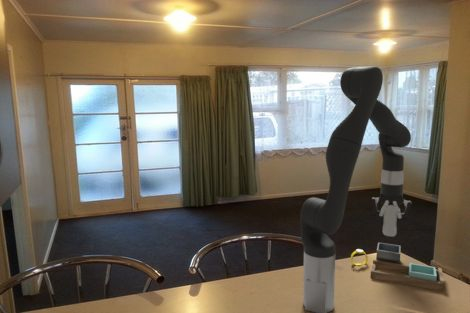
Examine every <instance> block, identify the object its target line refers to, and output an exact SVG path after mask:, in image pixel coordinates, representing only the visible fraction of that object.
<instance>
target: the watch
mask: <svg viewBox="0 0 470 313" xmlns="http://www.w3.org/2000/svg"><path fill="white" fill-rule="evenodd" d="M356 254H364V255H365V260H364V261H363V262H361V263H358V262H357V263H355V262H354V260H353V258H354V255H356ZM368 258H369V257H368V255H367V254H366V252H365V251H364V250H363V249H361V248H357V249H355V250H354V251H353V252H352V253H351V254H350V261H351V263H352V265H354V266H360V267H361V266H362V264H363V265H366V264H367V263H368Z"/></svg>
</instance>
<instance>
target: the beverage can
mask: <svg viewBox="0 0 470 313" xmlns="http://www.w3.org/2000/svg"><path fill="white" fill-rule="evenodd" d="M395 209H396V207H395V205H387V206H386V210H385V212H384V214H383V226H382V234H383V235H384V236H385V237H392V238H393V237H395V236H396V235H397V230H398V228H397V217H398V215H397V213H396V210H395Z"/></svg>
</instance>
